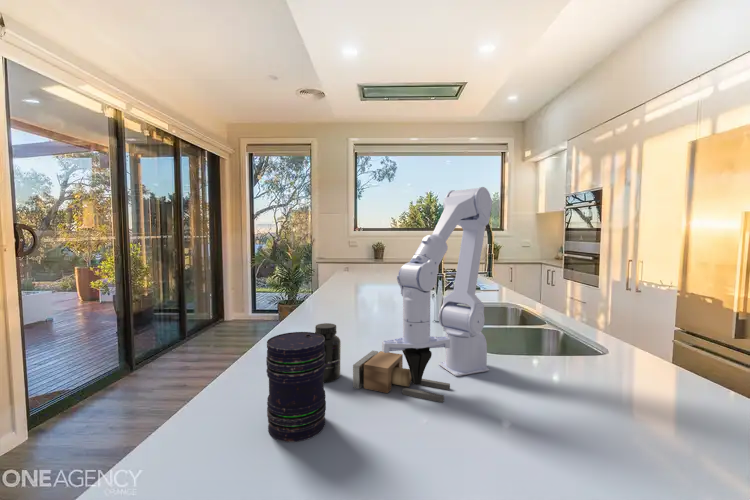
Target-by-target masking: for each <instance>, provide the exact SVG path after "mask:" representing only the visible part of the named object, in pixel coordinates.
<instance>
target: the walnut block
mask: <svg viewBox="0 0 750 500" xmlns="http://www.w3.org/2000/svg"><path fill="white" fill-rule="evenodd" d="M403 355H404V353H403V354H402V353H394V352H391V351H389V353H384V352H383V350H382V351H378V354H376V355H375V356H374V357H372V358H371V359H370V360H369V361H367V362H366V363H365V364H364V385H363V389H365V390H369V391H376V392H380V393H384V394H388V393H389V392H391V390H392V384H391V370H392V369H393V368H394V367H399V368H404V367H403V361H404V360H403Z"/></svg>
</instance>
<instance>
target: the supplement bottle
mask: <svg viewBox="0 0 750 500" xmlns="http://www.w3.org/2000/svg"><path fill="white" fill-rule="evenodd" d="M314 328H315V329H314V333H318V334H321V335H323V336H324V338H325V344H324V346H325V365H326V367H325V371H324V383H330V382H333V381H336V380H338V379H339V378H340V376H341V348H342V347H341V346H342V345H341V344H342V343H341V342H342V341H341V339H340V337H339V336H338V335H336V334H337V325H336V324H335V323H326V322H324V323H318V324H316V325H315V327H314Z"/></svg>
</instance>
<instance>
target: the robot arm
mask: <svg viewBox="0 0 750 500" xmlns="http://www.w3.org/2000/svg"><path fill="white" fill-rule="evenodd" d="M442 201H443V202H442V204H443V210H442V213H441V215H440V218H439V219H438V221H437V224H436V225H435V227H434V229H433V232H432V233H431V234H427V235H425V236H424V237H422V240H421V242H420V244H419V245H418V248H417V249H416V251H415V252H414V254H413V256H412V258H411V259H410V260H409V262H408V261H407V262H405V263H404V264H403V265H402V266H401V267H400V268H399V271H398V274H397V275H396V280H397V283H398V286H399V287H400V295H401V296H402V309H403V310H402V337H399V338H394V339H387V340H382V341H381V350H382V351H383V352H384V353H389V352H399V351H400V352H401V351H402V353H403V355H404V358H405V360H406V362H407V365H408V369H410V373H411V378H412V382H413V383H414V384H413V383H412V384H413V385H414V386H416V385H418V386H419V384H421V380H422V379H423V375H424V373H425V369H426V367H427V365H428V363H429V361H430V360H431V358H432V355H433V354H432V351H431V349H437V348H438V349H439V348H445V361H439V362H438V366H440V367H442V368H443V369H445V370H446V371H448V372H449V373H451V374H452V375H453V376H455V377H460V376H466V375H473V374H479V373H483V372H484V373H485V372H489V371H490V369H489V367H488V365H487V363H488V362H487V360H488V359H487V358H488V357H487V355H488V351H487V350H488V344H487V343H488V342H487V340H486V337H485V335H484V334H483V332H482V331H483V329H484V327H485V304H484V303H483V302H482V300H481V299H480V298H479V297H478V296H477V295H476V290H477V283H478V277H479V271H480V263H481V257H482V251H483V245H484V238H485V231H486V226H487V225H489V223H490V217H491V213H492V207H493V206H492V205H493V200H492V197H491V193H490V191H489V190H488V188H486V187H485V186H481V187H476V188H470V189H460V190H449V191H448V192H447V193H446V195H445V198H444V199H443V200H442ZM458 226H459V227H461V229H462V235H461V243H460V247H459V255H458V261H457V265H456V271H455V272H456V274H455V278H454V279H455V280H454V285H453V291H451V292H450V293H448V294H447V295H446V296H444V298H443V302H442V305H441V307H440V308H439V312H438V322H439V325H440V326H441V328H442V329H443V332H444V333H445V336H434V335H433V336H432V335H431V291H432V290H433V288H434V287H435V286H436V284H437V280H438V273H439V265H440V264H441V262H442V260H443V258H444V256H445V254H446V253H447V251H448V249H449V247H448V244H447V240H448V239H449V237H450V236H451V235H452V234H453V232H454V230H455V229H456V227H458ZM459 304H460V305H459ZM464 305H466V306H464Z"/></svg>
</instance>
